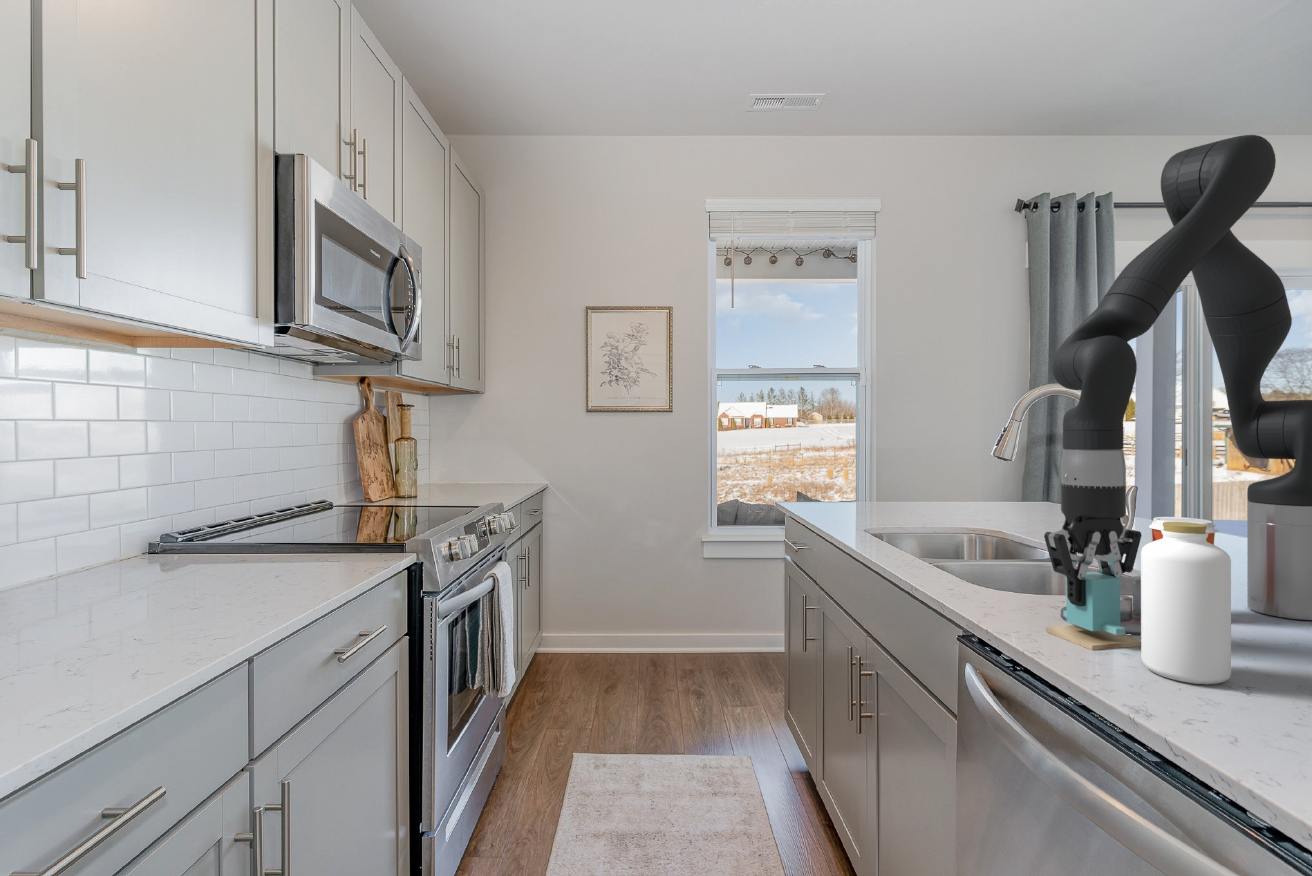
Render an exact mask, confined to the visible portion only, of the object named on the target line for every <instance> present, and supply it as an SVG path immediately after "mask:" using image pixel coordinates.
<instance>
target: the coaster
mask: <svg viewBox="0 0 1312 876" xmlns="http://www.w3.org/2000/svg"><path fill="white" fill-rule="evenodd" d="M1045 633H1048V634H1051V635H1054V636H1056V637H1059V638H1060V639H1064V640H1066V641H1068V642H1071V643H1073V644H1076V645H1078V646H1081V647H1083V648H1086V649H1088V650H1091V651H1094V650H1095V651H1098V650H1108V649H1110V650H1111V649H1119V647H1122V648H1129V647H1128V646H1134V647H1141V639H1139V638H1136V637H1132V636H1131V635H1124V634H1121V635H1115V634H1112V633H1109V632H1107V631H1090V630H1087V629H1085V628H1082V627H1079V626H1077V625H1074V624H1071V625H1061V626H1048V627H1047V626H1046V627H1045Z"/></svg>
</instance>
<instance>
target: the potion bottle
mask: <svg viewBox="0 0 1312 876" xmlns="http://www.w3.org/2000/svg"><path fill="white" fill-rule="evenodd" d="M1163 527H1164V529H1162V530H1161V532H1162V534H1163V539H1159V540H1156V541H1153V540H1152V541H1151V542H1148V543H1147V544H1145V545H1143V547H1142V548H1141V551H1140V576H1141V635H1140V640H1141V646H1140V651H1141V652H1140V654H1141V655H1140V656H1141V657H1140V659H1141V661H1142V663H1143V665H1144V667H1146V668H1147V669H1148V670H1149V671H1151V672H1152V673H1154V674H1156V675H1159V676H1161V677H1164V678H1167V679H1170V680H1173V681H1178V682H1181V683H1182V682H1183V683H1187V684H1196V685H1217V684H1221V683H1224V682H1226V681H1228V680H1229V678H1230V676H1231V675H1232V559H1231V555H1230V554H1228V552H1227V551H1225V550H1224V549H1222V548H1221V547H1219V546H1218V545H1215V544H1214V545H1213V544H1210V543H1208V542H1206V538H1207V537H1208V533H1207V532H1205V531H1206V527H1207V526H1206V525H1204V524H1198V523H1190V522H1163Z"/></svg>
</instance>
